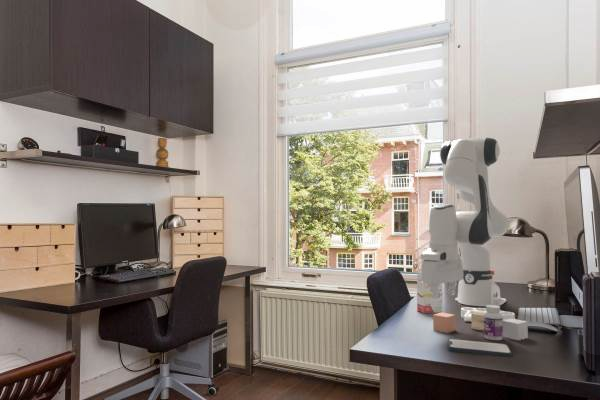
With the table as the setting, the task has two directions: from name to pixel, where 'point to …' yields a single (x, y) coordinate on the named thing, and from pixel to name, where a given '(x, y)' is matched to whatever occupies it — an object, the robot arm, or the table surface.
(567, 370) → the table surface
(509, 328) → the grey block
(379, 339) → the table surface
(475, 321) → the maple block
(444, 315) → the terracotta block
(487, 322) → the pill bottle
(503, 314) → the knuckle duster
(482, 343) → the phone case
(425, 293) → the ink cartridge box
